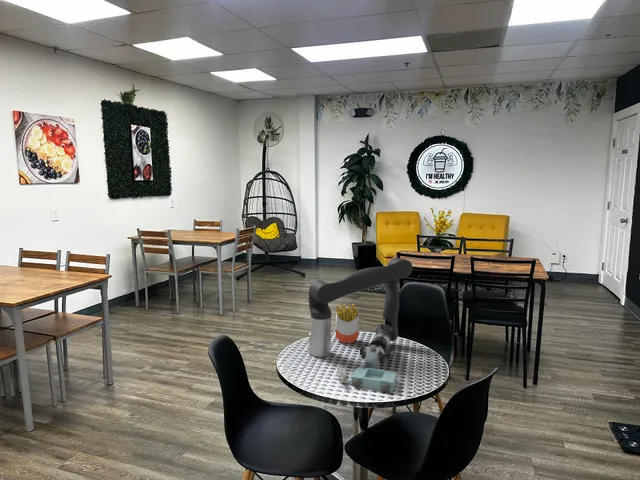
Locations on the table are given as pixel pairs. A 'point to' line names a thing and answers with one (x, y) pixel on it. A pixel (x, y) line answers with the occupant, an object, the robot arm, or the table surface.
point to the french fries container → (347, 324)
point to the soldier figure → (341, 376)
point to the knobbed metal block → (373, 357)
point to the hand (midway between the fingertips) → (371, 358)
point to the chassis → (374, 379)
